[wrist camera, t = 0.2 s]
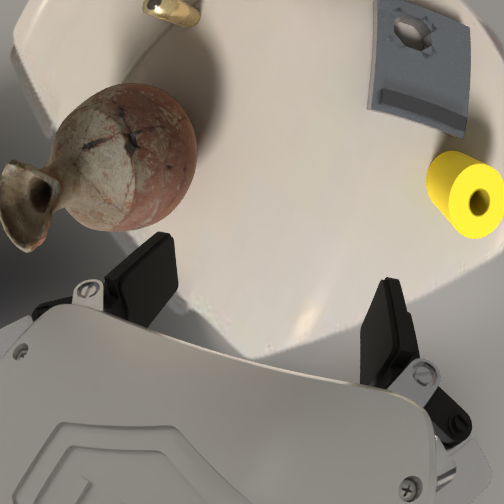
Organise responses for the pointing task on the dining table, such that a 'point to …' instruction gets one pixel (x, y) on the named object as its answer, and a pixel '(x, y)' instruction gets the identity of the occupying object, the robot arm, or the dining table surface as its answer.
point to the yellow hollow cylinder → (466, 193)
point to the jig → (420, 68)
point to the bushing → (172, 12)
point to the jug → (105, 167)
